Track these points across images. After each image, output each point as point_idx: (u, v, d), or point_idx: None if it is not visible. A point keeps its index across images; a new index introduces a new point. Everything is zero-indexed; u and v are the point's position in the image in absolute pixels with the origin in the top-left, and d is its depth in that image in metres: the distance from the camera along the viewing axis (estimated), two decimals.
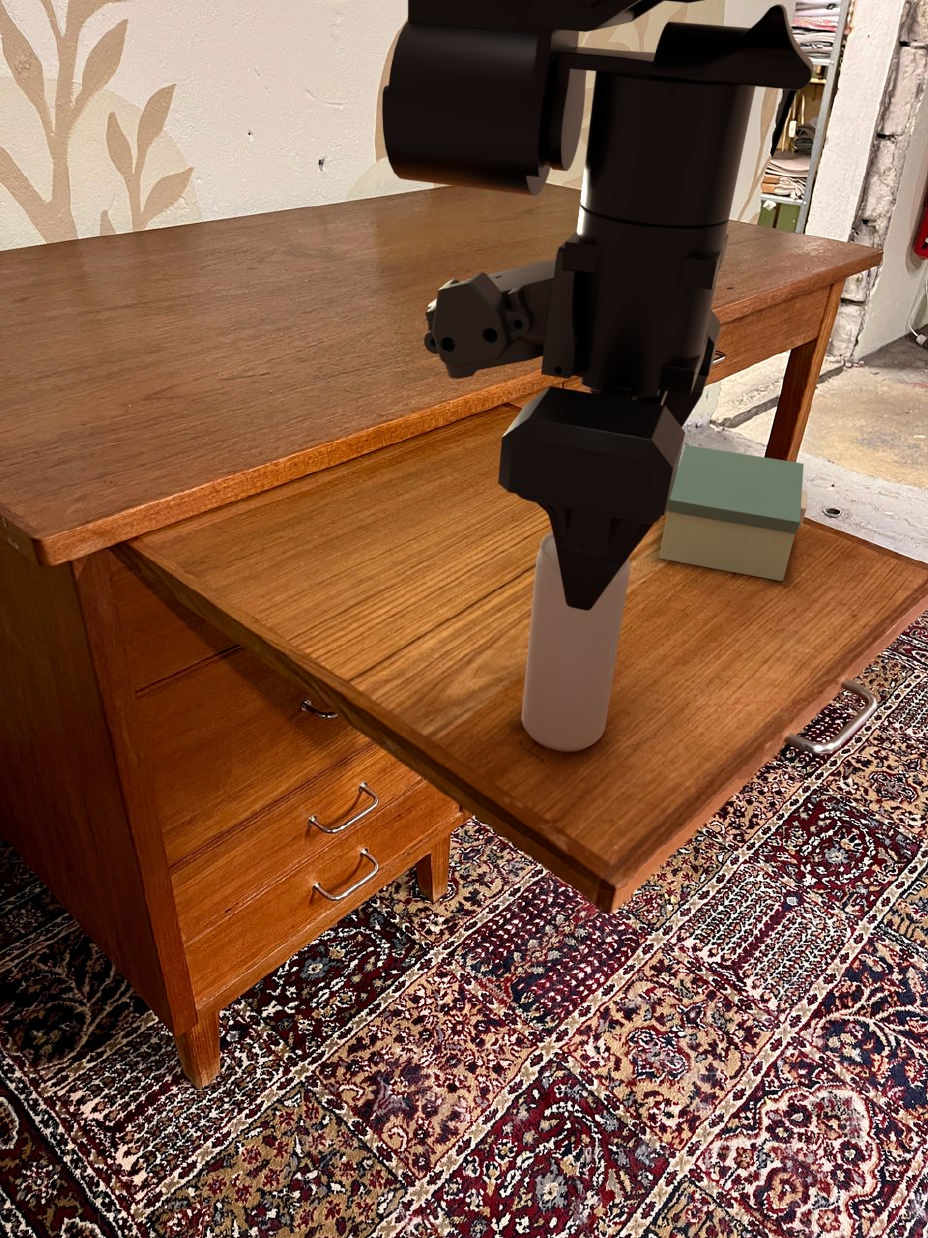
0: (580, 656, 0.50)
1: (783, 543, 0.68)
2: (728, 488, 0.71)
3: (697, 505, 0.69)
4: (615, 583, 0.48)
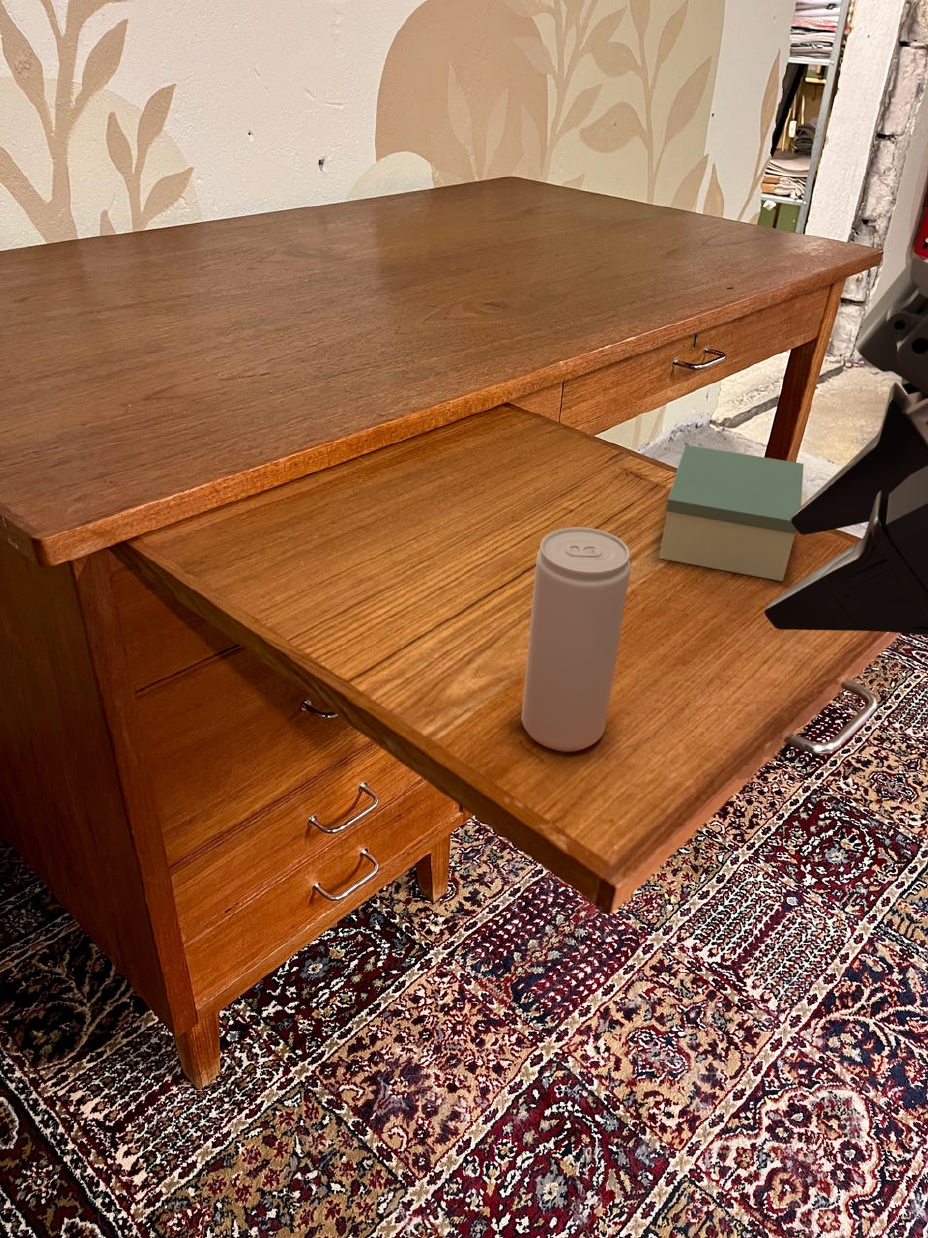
0: (580, 656, 0.50)
1: (783, 543, 0.68)
2: (728, 488, 0.71)
3: (697, 505, 0.69)
4: (615, 583, 0.48)
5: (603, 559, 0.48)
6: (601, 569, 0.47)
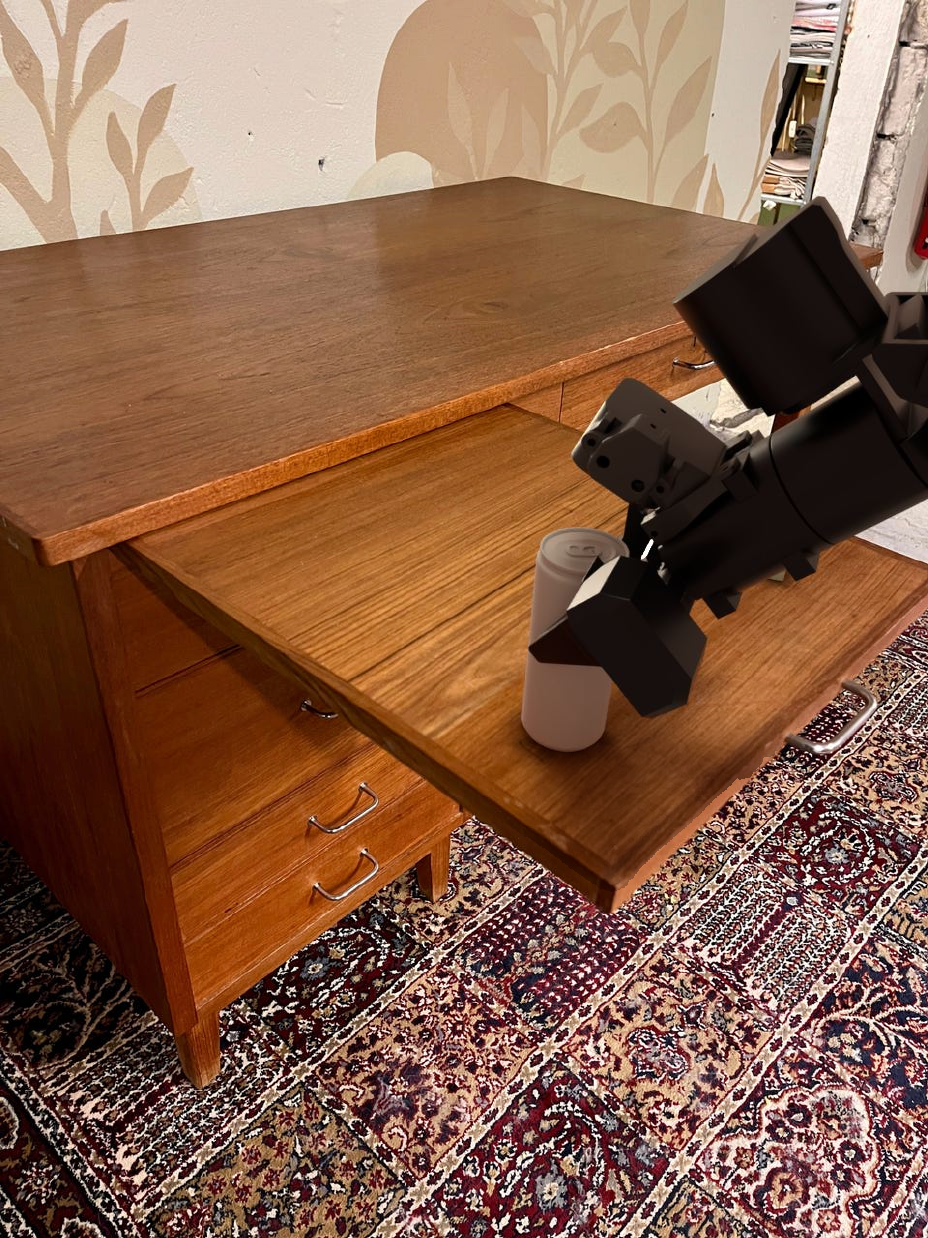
0: None
1: None
2: None
3: None
4: None
5: (603, 559, 0.48)
6: None
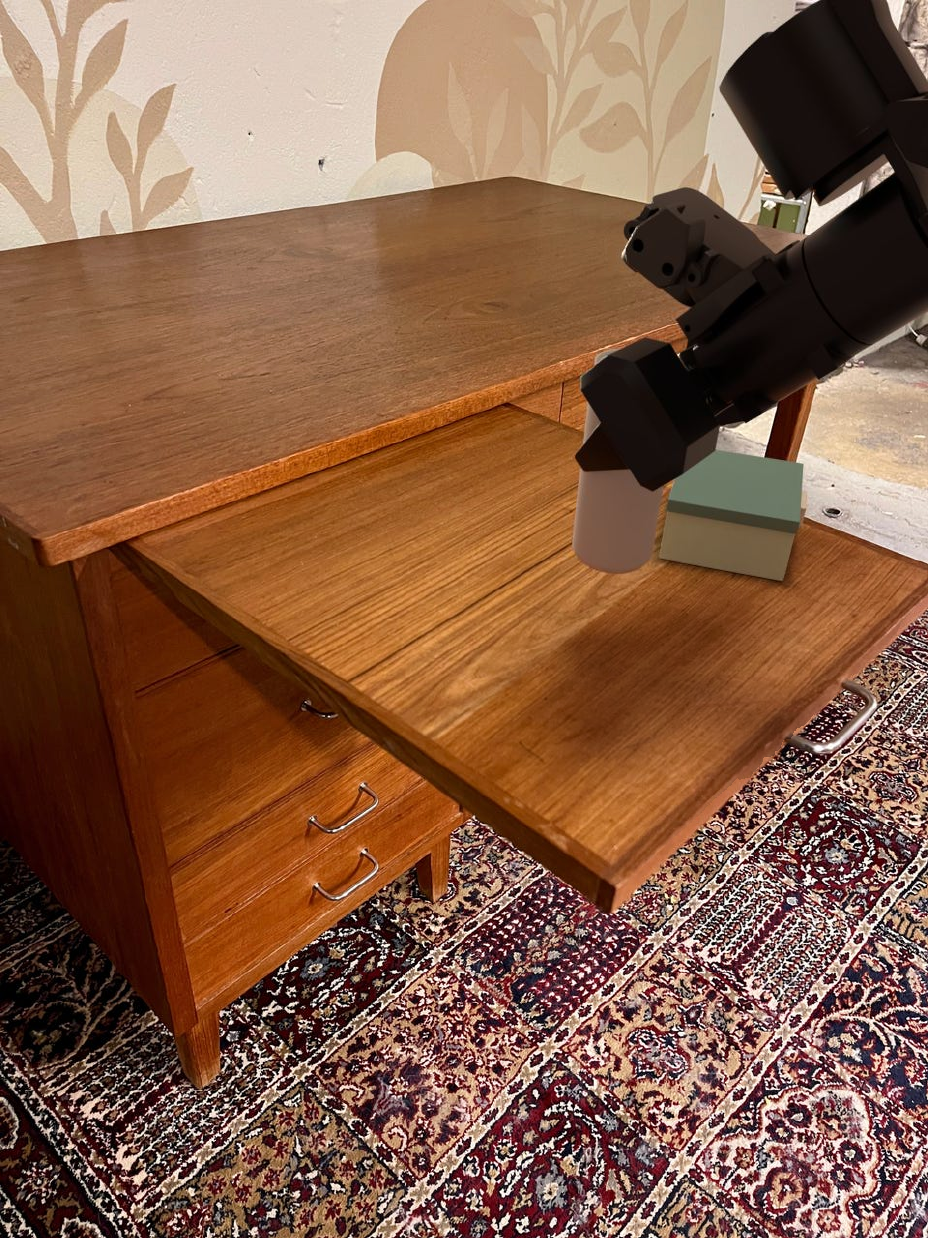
0: None
1: (783, 543, 0.68)
2: (728, 488, 0.71)
3: (697, 505, 0.69)
4: None
5: None
6: None
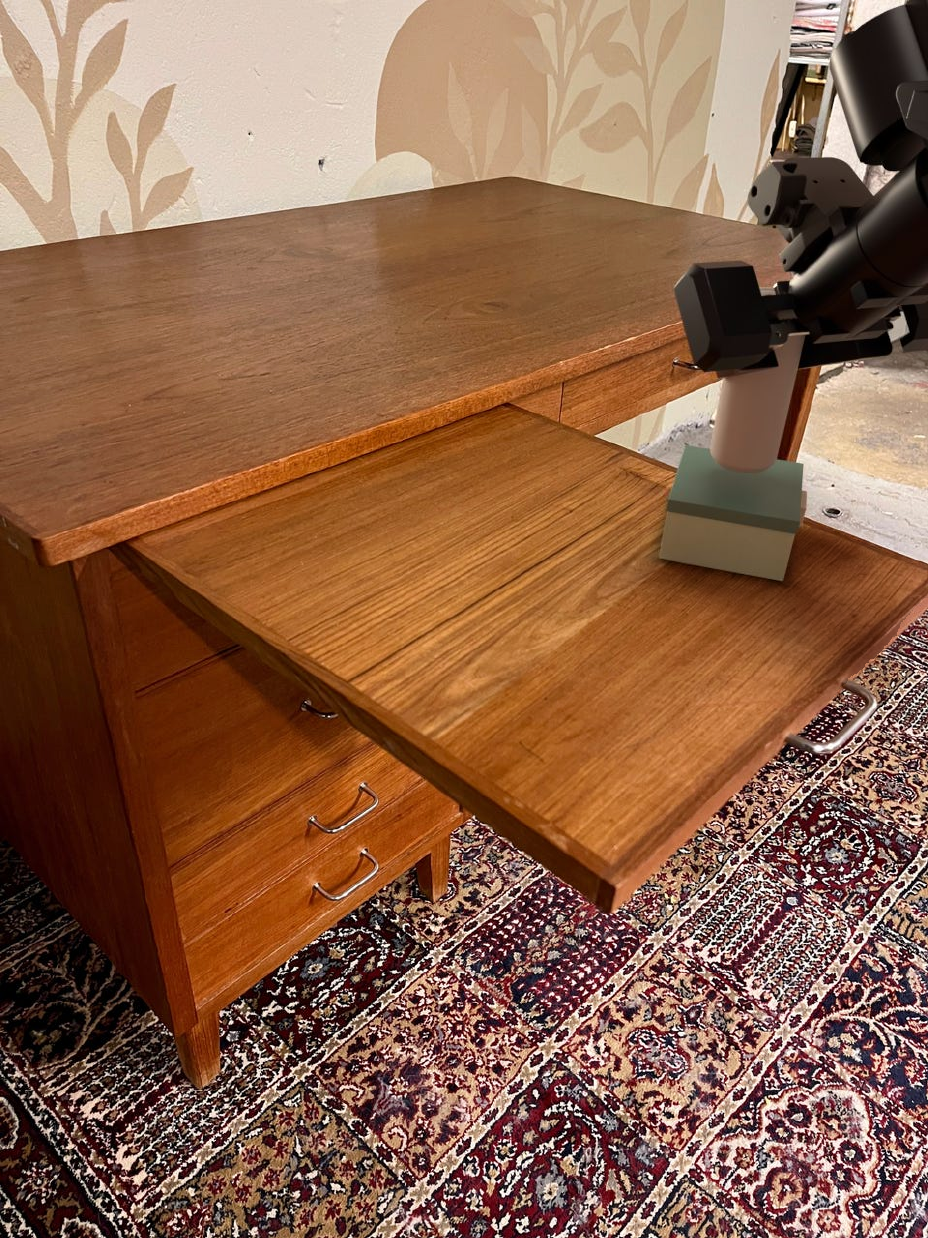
0: (741, 377, 0.66)
1: (783, 543, 0.68)
2: (728, 488, 0.71)
3: (697, 505, 0.69)
4: None
5: None
6: None
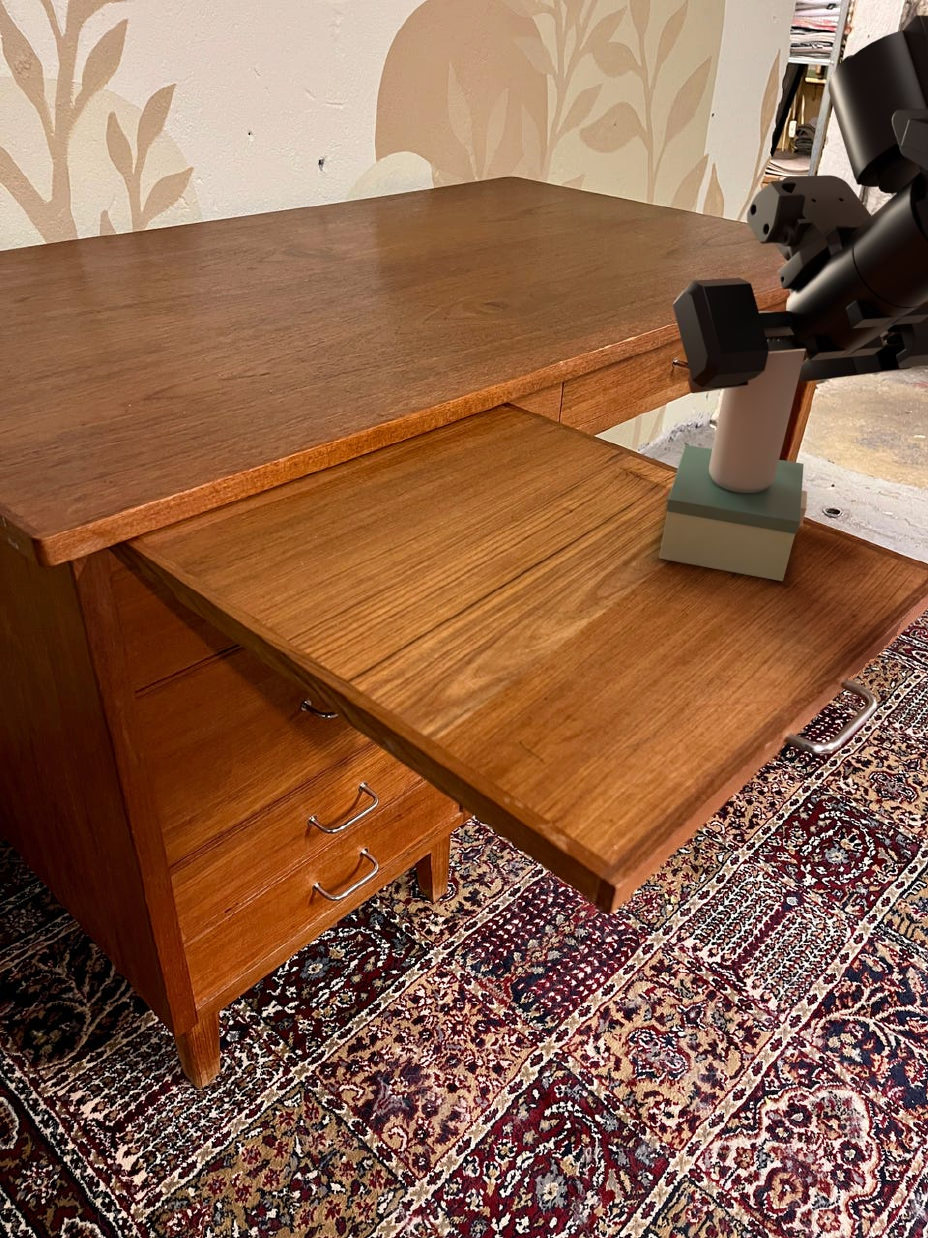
0: (740, 399, 0.67)
1: (783, 543, 0.68)
2: None
3: (697, 505, 0.69)
4: None
5: None
6: None
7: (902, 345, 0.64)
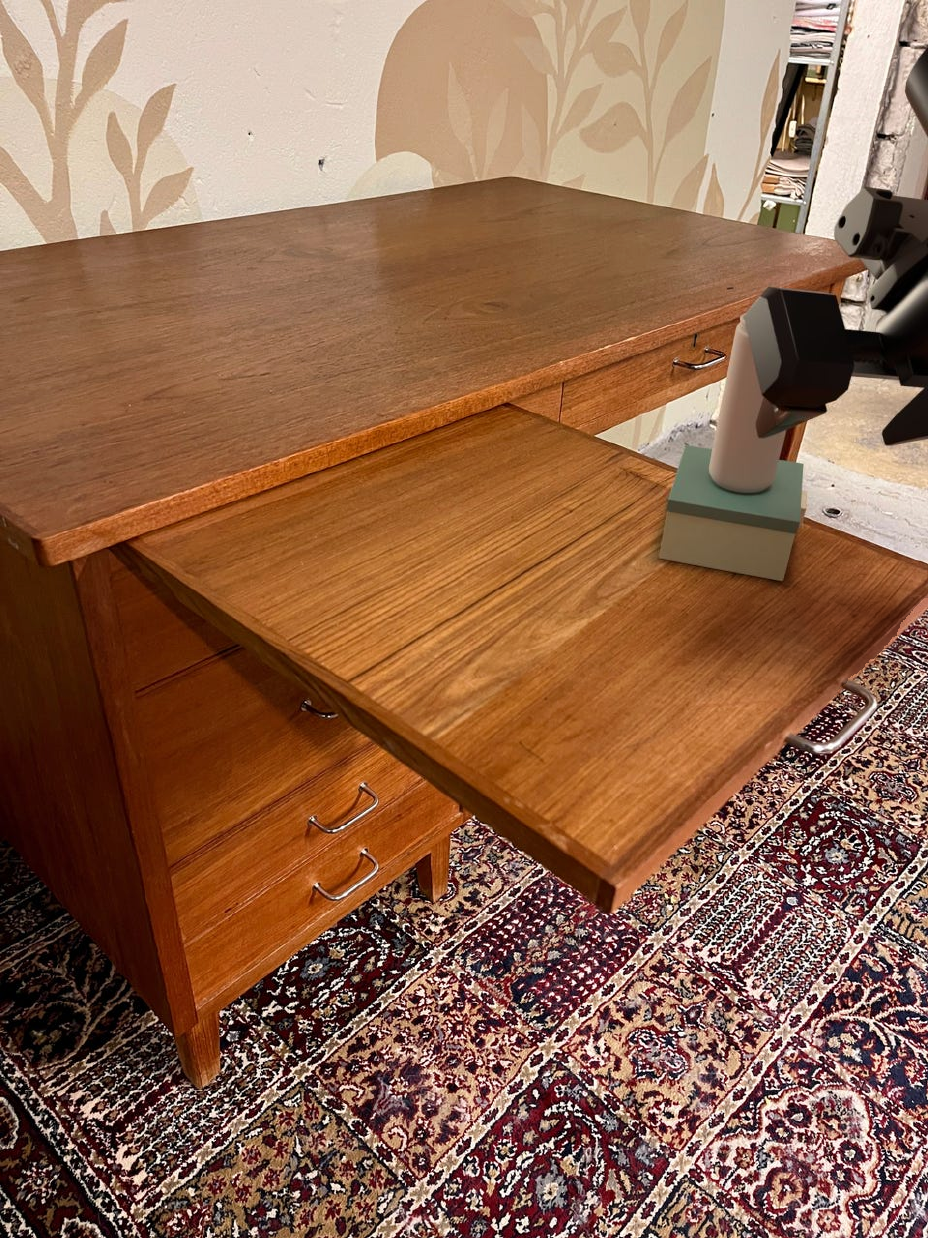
0: (740, 399, 0.67)
1: (783, 543, 0.68)
2: None
3: (697, 505, 0.69)
4: None
5: None
6: None
7: None
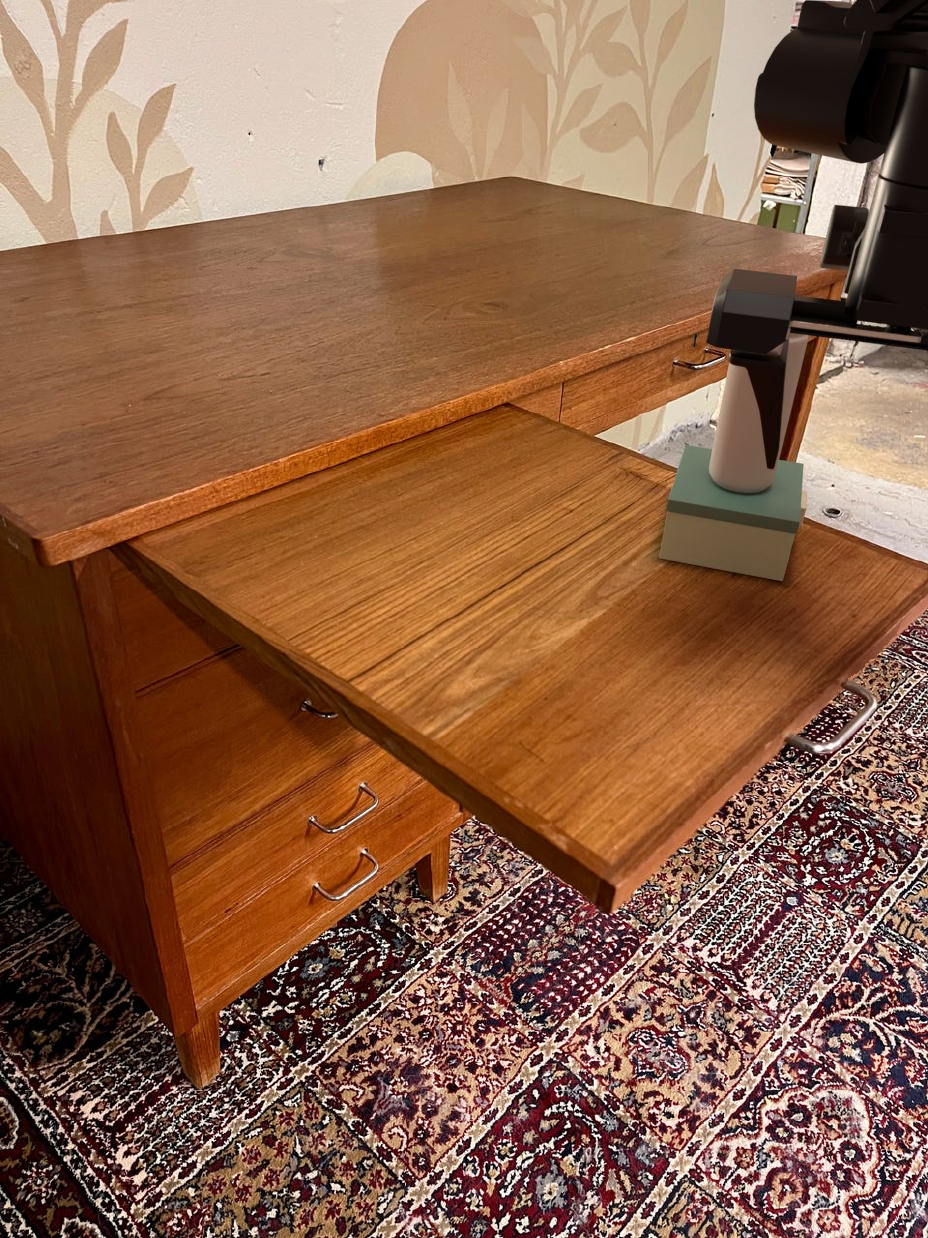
0: (740, 399, 0.67)
1: (783, 543, 0.68)
2: None
3: (697, 505, 0.69)
4: None
5: None
6: None
7: None
